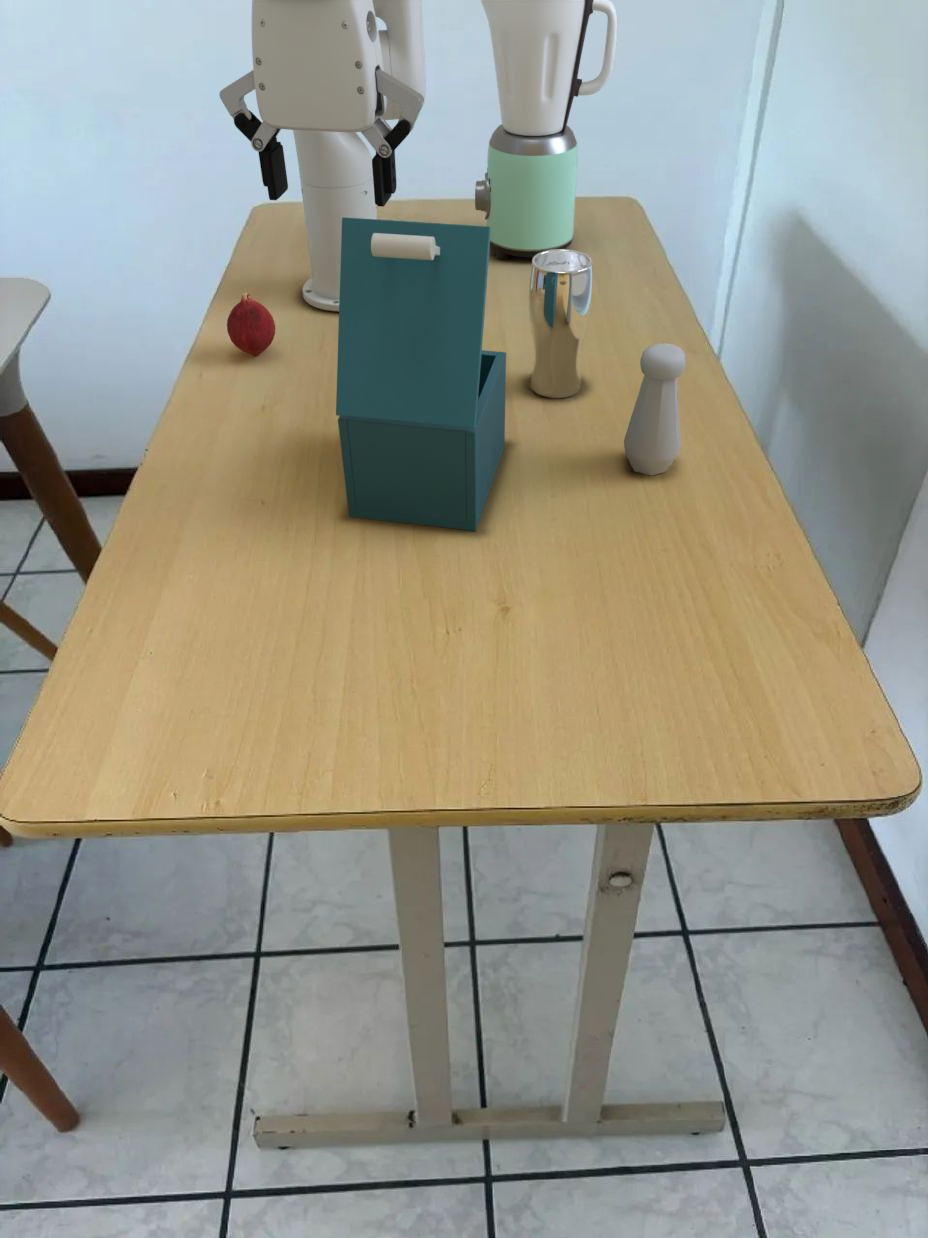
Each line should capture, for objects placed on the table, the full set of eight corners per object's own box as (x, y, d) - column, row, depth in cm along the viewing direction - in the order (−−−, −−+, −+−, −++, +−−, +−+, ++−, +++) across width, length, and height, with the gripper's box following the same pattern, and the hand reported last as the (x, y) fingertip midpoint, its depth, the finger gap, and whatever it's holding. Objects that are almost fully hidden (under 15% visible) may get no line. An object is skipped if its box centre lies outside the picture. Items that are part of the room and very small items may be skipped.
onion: (284, 361, 119) (274, 299, 114) (238, 369, 118) (226, 307, 112) (273, 341, 123) (263, 280, 118) (228, 350, 122) (217, 288, 116)
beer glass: (581, 403, 110) (591, 275, 100) (521, 397, 111) (525, 270, 101) (587, 374, 115) (597, 249, 105) (530, 369, 116) (535, 246, 106)
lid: (344, 217, 82) (325, 211, 77) (491, 227, 80) (480, 220, 75) (338, 414, 87) (319, 419, 82) (476, 427, 85) (465, 433, 80)
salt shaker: (680, 454, 102) (698, 339, 93) (674, 483, 98) (693, 366, 89) (625, 446, 103) (638, 333, 95) (617, 475, 99) (630, 359, 90)
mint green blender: (470, 263, 141) (468, -19, 118) (477, 230, 151) (476, -36, 128) (600, 266, 140) (624, -19, 116) (598, 233, 150) (620, -36, 126)
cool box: (390, 434, 106) (383, 341, 99) (504, 445, 104) (506, 351, 96) (348, 516, 94) (337, 419, 87) (475, 531, 92) (475, 432, 85)
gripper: (428, -41, 74) (435, 189, 86) (219, -45, 77) (253, 179, 89) (405, -24, 69) (416, 219, 80) (180, -28, 72) (222, 207, 83)
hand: (331, 197), depth 85 cm, fingers open, 9 cm apart
